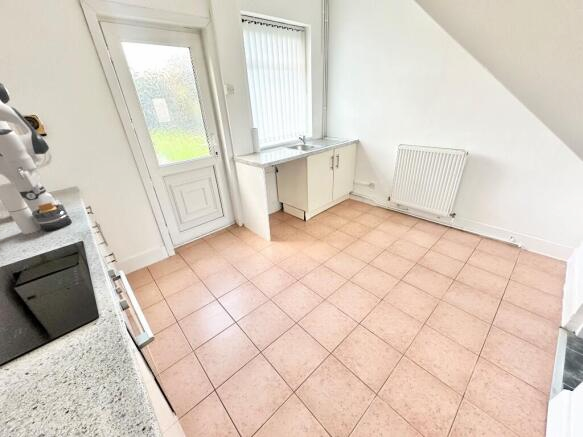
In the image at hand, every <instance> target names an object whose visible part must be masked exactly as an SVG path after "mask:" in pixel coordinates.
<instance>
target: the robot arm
mask: <svg viewBox="0 0 583 437" xmlns="http://www.w3.org/2000/svg"><path fill="white" fill-rule="evenodd" d="M9 101H10V92H9V90H8V89H7V87H5V86H4V84H3V83H1V82H0V175H2V176H3V177H5V178H6V179H7V180H8V181H9V183H14V185H15V186H16V188H17V190H18V191H19V193H20V194H21V196H22V198H23V199H24V201H25V202H26V204H27V205H28V207H29V209H30V210H31V212H34V211H35V210H37V209H40V208H39V207H38V205H40V204H45V203H49V202H52V204H53V205H58V204H61V205H62V203H61V202H60V200H59V199H55V198H54V197H53V196H52V194H50V193H49V192H47V189H46V188H45V187H44V185H42V183H41V181H40V180H41V176H40V174H39V172H38V169H37V165H36V163H38V162H39V163H40V162H41V161H42V159H43V155H45V154H46V153H47V152H48V151H49V149H50V147H49V144H48V142H47V140H46V139H45V138H44V137H43V136H42V135H41V134H40V133H39V132H38V131H37V130H36V129H35V128H34V127H33V125H32V124H30V122H29V121H28V120H27V119H26V118H25V116H24V115H23V114H22V113H21V112H19V111H18V110H17V109H16V108H14V107H13V106H9V105H7V104H8V103H9ZM9 123H10V124H15V125H17V126H18V128H20V129H21V131H23V132H24V133H25V134H20V135H18V134H17V133H16V132H15V130H12V128H11V127H10V125H9Z"/></svg>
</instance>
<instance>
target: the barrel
mask: <svg viewBox="0 0 583 437" xmlns="http://www.w3.org/2000/svg"><path fill="white" fill-rule="evenodd" d="M53 206H54V207H56V209H54V210H51V211H48V212H44V213H40V212H39V211H40V209H37V210H35V211H34V212H32V215H33V217H34V218H35V219H36V220H37V223H38V224H39V225H40V227H41V230H42V231H43V232H45V233H46V232H54V231H58V230H61V229H63V228H64V229H65V228H67V227H68V226H70V225H71V224H72V223H73V221H72V219H71V218H70V216H69V214H68V212H67V211H66V208H65V206H64V204H62V203H61V204H58V205H53Z"/></svg>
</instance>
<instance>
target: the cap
mask: <svg viewBox="0 0 583 437" xmlns="http://www.w3.org/2000/svg"><path fill="white" fill-rule="evenodd" d="M38 207H39V208H40V211H39V212H40V213H44V212H48V211H51V210H54V209H56V207H54V206H53V204H52V202H49V203H45V204H40V205H38Z"/></svg>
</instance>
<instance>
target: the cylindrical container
mask: <svg viewBox="0 0 583 437" xmlns="http://www.w3.org/2000/svg"><path fill="white" fill-rule="evenodd" d="M0 202H1V203H2V204H3V206H4V208H5V209H6V210H7V212H8V213H9V215H10V216H11V218H12V219H13V221H14V222H15V224H16V226H17V227H18V228H19V230H20V231H21V232H22V234H23V235H27V234H29V233H30V234H33V233H35V232H38V231H40V230H42V228H41V227H40V225H39V224H38V223H37V220H36V219H35V218H34V217H33V215H32V212H31V210H30V209H29V207H28V205H27V204H26V202H25V201H24V199H23V198H22V196H21V194H20V193H19V191H18V190H17V188H16V186H15V185H14V183H11V182H8V183H1V184H0ZM30 234H29V235H30Z"/></svg>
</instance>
